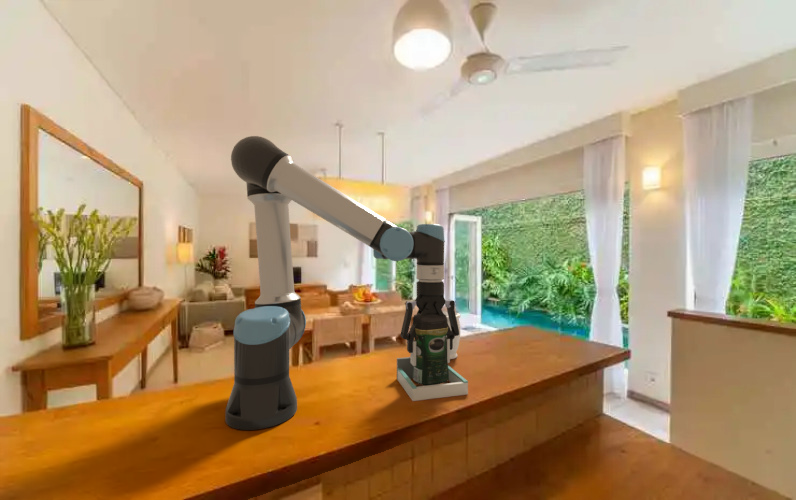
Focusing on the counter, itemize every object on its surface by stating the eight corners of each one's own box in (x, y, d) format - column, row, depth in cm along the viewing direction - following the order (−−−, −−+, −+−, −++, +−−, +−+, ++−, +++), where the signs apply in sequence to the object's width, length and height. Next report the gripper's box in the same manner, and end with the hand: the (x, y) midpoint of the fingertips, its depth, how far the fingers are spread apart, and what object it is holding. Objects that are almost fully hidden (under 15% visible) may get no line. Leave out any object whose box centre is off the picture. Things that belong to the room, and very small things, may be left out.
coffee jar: (438, 373, 99) (438, 309, 99) (453, 383, 91) (453, 314, 91) (407, 378, 95) (408, 312, 95) (421, 389, 87) (421, 317, 87)
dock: (412, 401, 84) (412, 376, 84) (396, 378, 98) (396, 358, 98) (467, 394, 88) (467, 371, 88) (444, 373, 102) (444, 354, 102)
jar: (464, 354, 121) (464, 312, 121) (453, 362, 112) (453, 317, 112) (437, 350, 127) (437, 310, 127) (424, 357, 118) (424, 314, 118)
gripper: (395, 282, 87) (395, 371, 86) (472, 281, 92) (472, 363, 92) (388, 280, 94) (388, 361, 94) (460, 278, 100) (460, 355, 99)
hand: (430, 362), depth 93 cm, fingers closed on coffee jar, 9 cm apart
